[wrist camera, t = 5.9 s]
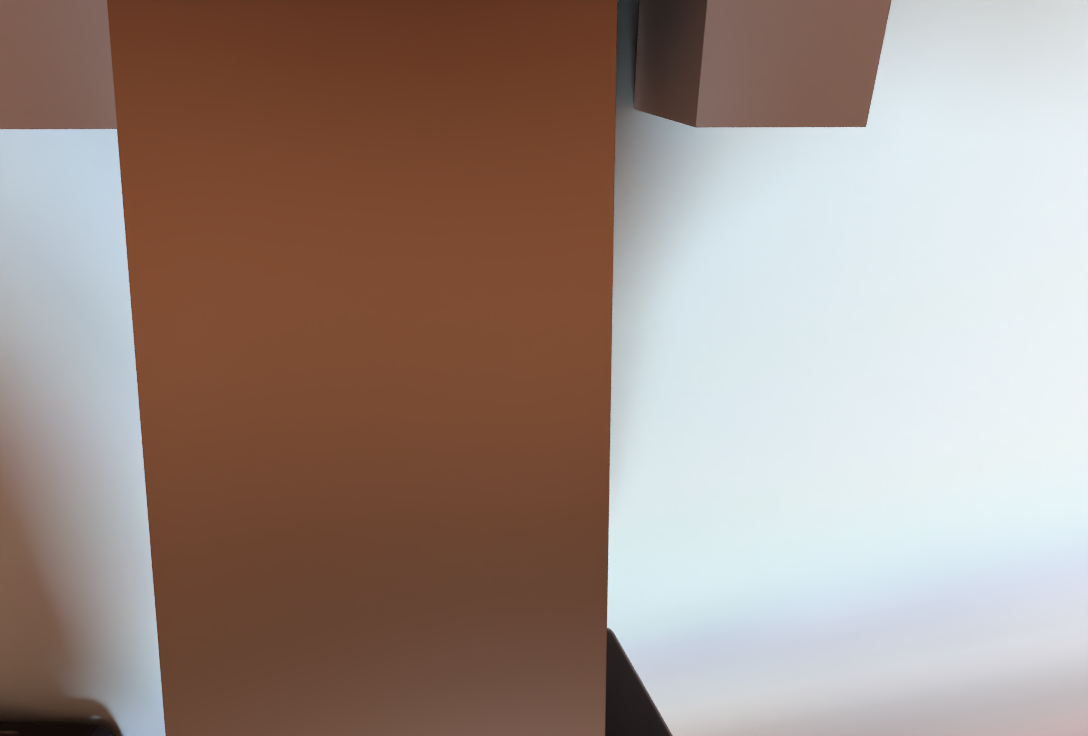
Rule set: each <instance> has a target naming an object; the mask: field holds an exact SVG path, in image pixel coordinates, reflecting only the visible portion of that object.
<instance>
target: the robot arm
mask: <svg viewBox="0 0 1088 736" xmlns="http://www.w3.org/2000/svg"><path fill="white" fill-rule="evenodd" d="M0 736H113V735H112V733H111V732H110V731H108V730H107V729H105V728H103V727H100V726H97V725H83V724H32V723H0ZM605 736H673V735H672V734H671V732H670V730H669V728H668V727H667V725H666V723H665V721H664V720H663V718H662V716H661V715H660V713H659V711H658V709H657V708H656V706H655V704H654V702H653V701H652V699H651V697H650V695H649V694H648V692H647V690H646V688H645V687H644V685H643V683H642V681H641V680H640V678H639V676H638V674H637V673H636V671H635V669H634V667H633V666H632V664H631V662H630V660H629V659H628V657H627V655H626V653H625V652H624V650H623V648H622V646H621V645H620V643H619V641H618V639H617V638H616V636H615V634H614V633H613V631H612V630H611V629H609V628H607V645H606V705H605Z"/></svg>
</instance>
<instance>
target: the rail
mask: <svg viewBox="0 0 1088 736" xmlns="http://www.w3.org/2000/svg"><path fill="white" fill-rule="evenodd" d="M107 8H108V20H109V33H110V45H111V58H112V70H113V83H114V95H115V108H116V120H117V133H118V145H119V158H120V170H121V183H122V195H123V208H124V220H125V233H126V245H127V258H128V270H129V283H130V295H131V308H132V320H133V333H134V345H135V358H136V370H137V383H138V395H139V408H140V420H141V433H142V445H143V458H144V470H145V483H146V495H147V508H148V520H149V533H150V545H151V558H152V570H153V583H154V595H155V608H156V620H157V633H158V645H159V658H160V670H161V683H162V695H163V708H164V720H165V733H166V736H605V705H606V645H607V585H608V525H609V465H610V406H611V346H612V286H613V226H614V166H615V106H616V46H617V0H107Z"/></svg>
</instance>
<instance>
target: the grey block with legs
mask: <svg viewBox="0 0 1088 736" xmlns="http://www.w3.org/2000/svg"><path fill="white" fill-rule="evenodd" d="M890 4H891V0H640V3H639V22H638V40H637V59H636V78H635V97H634V109H636V110H639V111H643V112H646V113H649V114H653V115H656V116H659V117H663V118H666V119H670V120H673V121H676V122H680V123H683V124H686V125H690V126H693V127H866V124H867V119H868V114H869V109H870V104H871V99H872V94H873V89H874V84H875V79H876V74H877V69H878V64H879V59H880V54H881V49H882V44H883V39H884V34H885V29H886V24H887V19H888V14H889V9H890ZM0 129H117V120H116V108H115V95H114V83H113V70H112V58H111V45H110V33H109V20H108V8H107V0H0Z"/></svg>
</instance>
